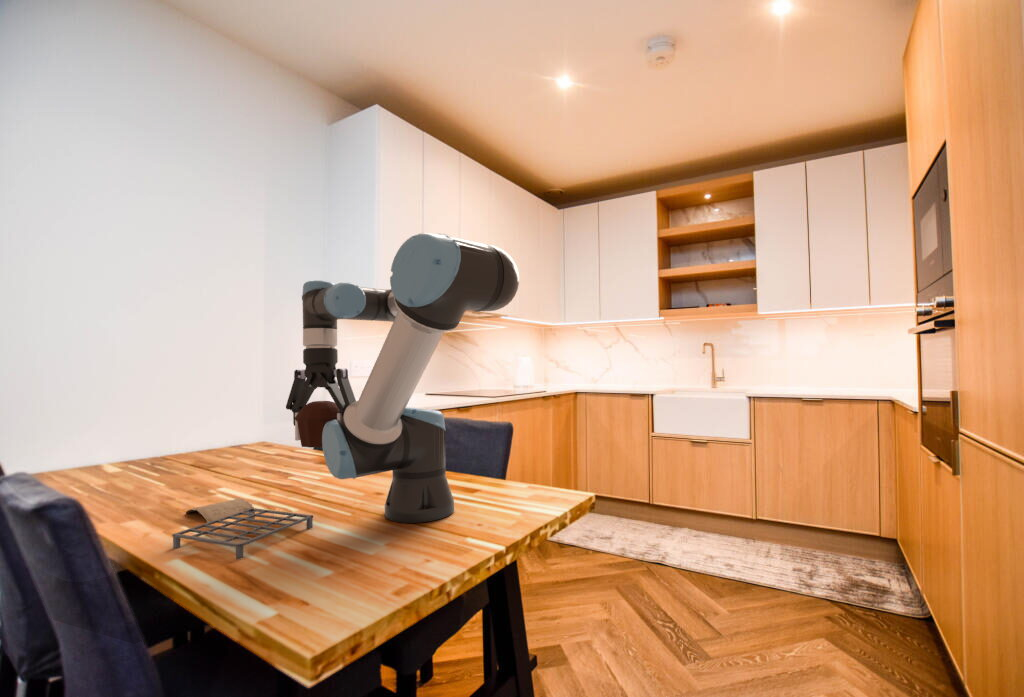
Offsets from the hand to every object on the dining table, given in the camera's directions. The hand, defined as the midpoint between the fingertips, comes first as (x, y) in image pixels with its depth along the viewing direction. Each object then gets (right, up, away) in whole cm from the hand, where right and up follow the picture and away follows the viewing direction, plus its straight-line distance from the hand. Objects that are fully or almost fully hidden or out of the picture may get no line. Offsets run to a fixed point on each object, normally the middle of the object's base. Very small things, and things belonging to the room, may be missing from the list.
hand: (321, 440), depth 113 cm
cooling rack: (-7, -15, -19) cm, 25 cm away
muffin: (0, -1, 0) cm, 1 cm away
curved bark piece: (-22, -17, -2) cm, 28 cm away
